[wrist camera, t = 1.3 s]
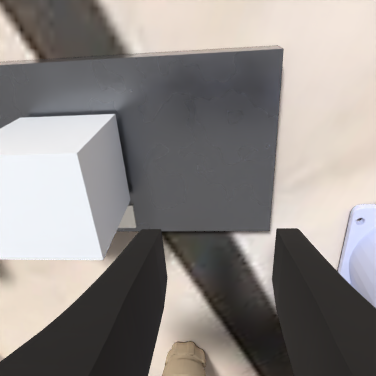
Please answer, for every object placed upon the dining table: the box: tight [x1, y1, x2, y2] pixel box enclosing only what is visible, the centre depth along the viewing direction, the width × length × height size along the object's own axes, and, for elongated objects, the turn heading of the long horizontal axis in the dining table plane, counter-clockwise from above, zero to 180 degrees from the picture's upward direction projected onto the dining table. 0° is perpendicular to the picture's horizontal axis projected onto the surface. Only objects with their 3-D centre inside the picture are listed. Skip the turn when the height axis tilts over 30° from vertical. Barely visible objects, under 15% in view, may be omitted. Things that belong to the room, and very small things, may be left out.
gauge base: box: [0, 45, 283, 231], centre depth 16 cm, size 24×10×8 cm, turn 93°
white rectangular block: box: [0, 114, 130, 260], centre depth 16 cm, size 5×7×5 cm
